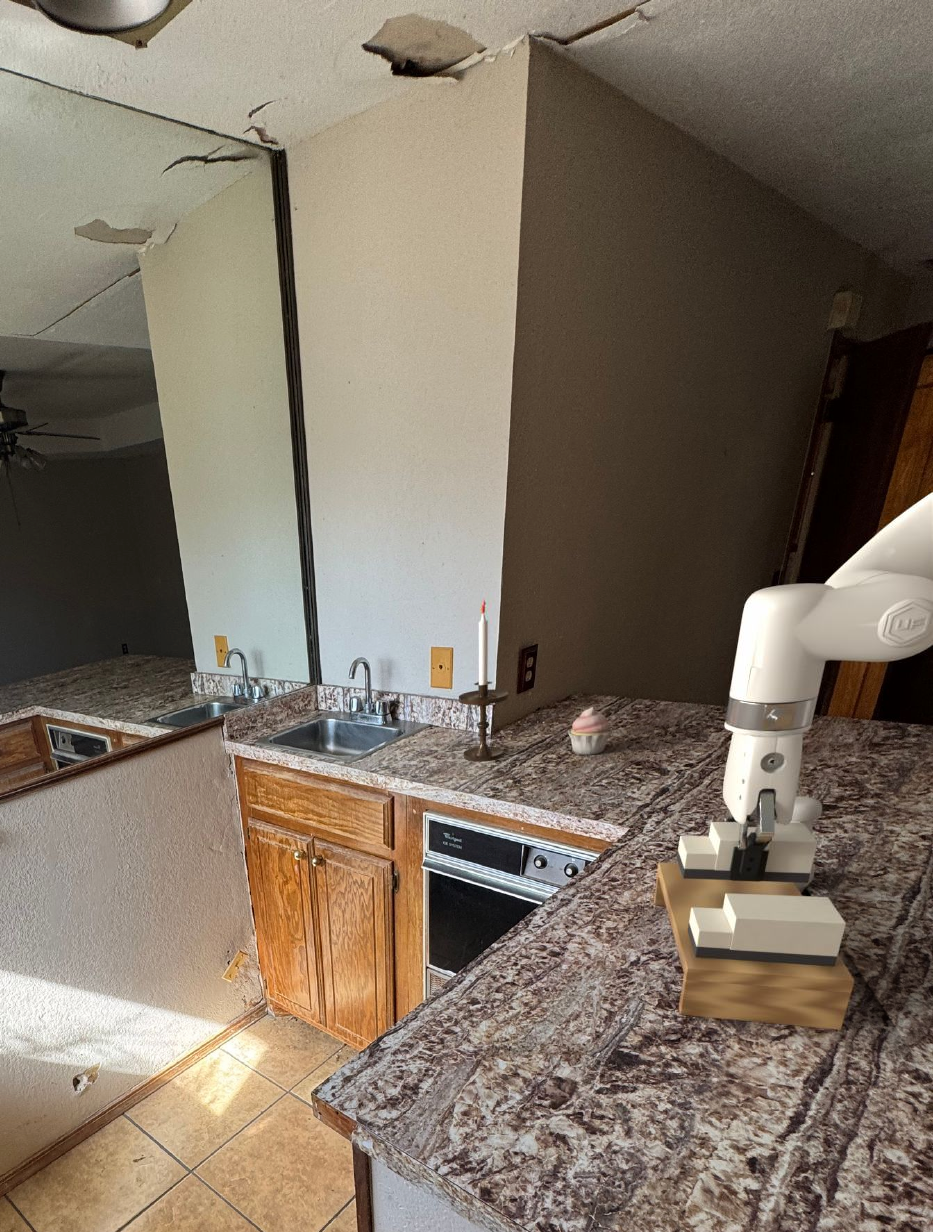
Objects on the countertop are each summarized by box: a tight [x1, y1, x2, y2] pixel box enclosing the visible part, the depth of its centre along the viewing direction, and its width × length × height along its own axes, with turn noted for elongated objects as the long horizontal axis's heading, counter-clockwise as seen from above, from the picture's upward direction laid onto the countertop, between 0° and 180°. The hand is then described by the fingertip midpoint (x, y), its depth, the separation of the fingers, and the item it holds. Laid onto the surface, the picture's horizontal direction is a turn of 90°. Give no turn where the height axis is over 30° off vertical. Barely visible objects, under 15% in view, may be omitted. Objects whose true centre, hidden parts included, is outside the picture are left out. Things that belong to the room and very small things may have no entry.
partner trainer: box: [688, 893, 847, 966], centre depth 72 cm, size 12×6×5 cm, turn 69°
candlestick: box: [458, 599, 509, 762], centre depth 156 cm, size 11×11×35 cm
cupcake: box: [567, 706, 614, 756], centre depth 154 cm, size 9×9×10 cm
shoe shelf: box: [653, 861, 856, 1031], centre depth 81 cm, size 14×26×6 cm, turn 159°
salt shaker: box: [790, 795, 823, 894], centre depth 90 cm, size 6×6×13 cm
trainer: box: [676, 821, 819, 883], centre depth 79 cm, size 12×6×5 cm, turn 69°
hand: (739, 866), depth 80 cm, fingers closed on trainer, 5 cm apart
